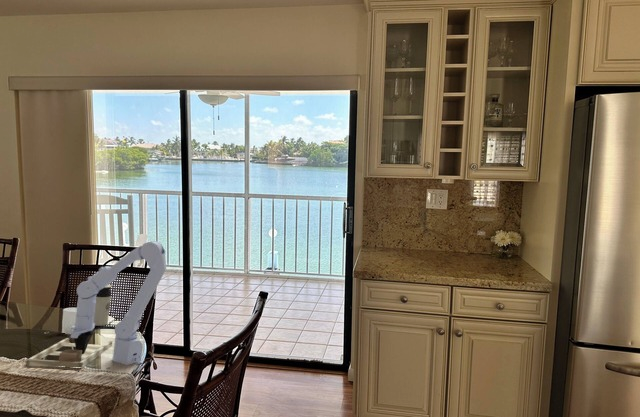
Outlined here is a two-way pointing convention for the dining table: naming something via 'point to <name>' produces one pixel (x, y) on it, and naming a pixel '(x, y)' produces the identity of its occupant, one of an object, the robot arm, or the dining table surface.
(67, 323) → the white cup
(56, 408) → the dining table surface
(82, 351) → the robot arm
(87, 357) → the white compartment tray
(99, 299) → the travel mug
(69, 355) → the block
